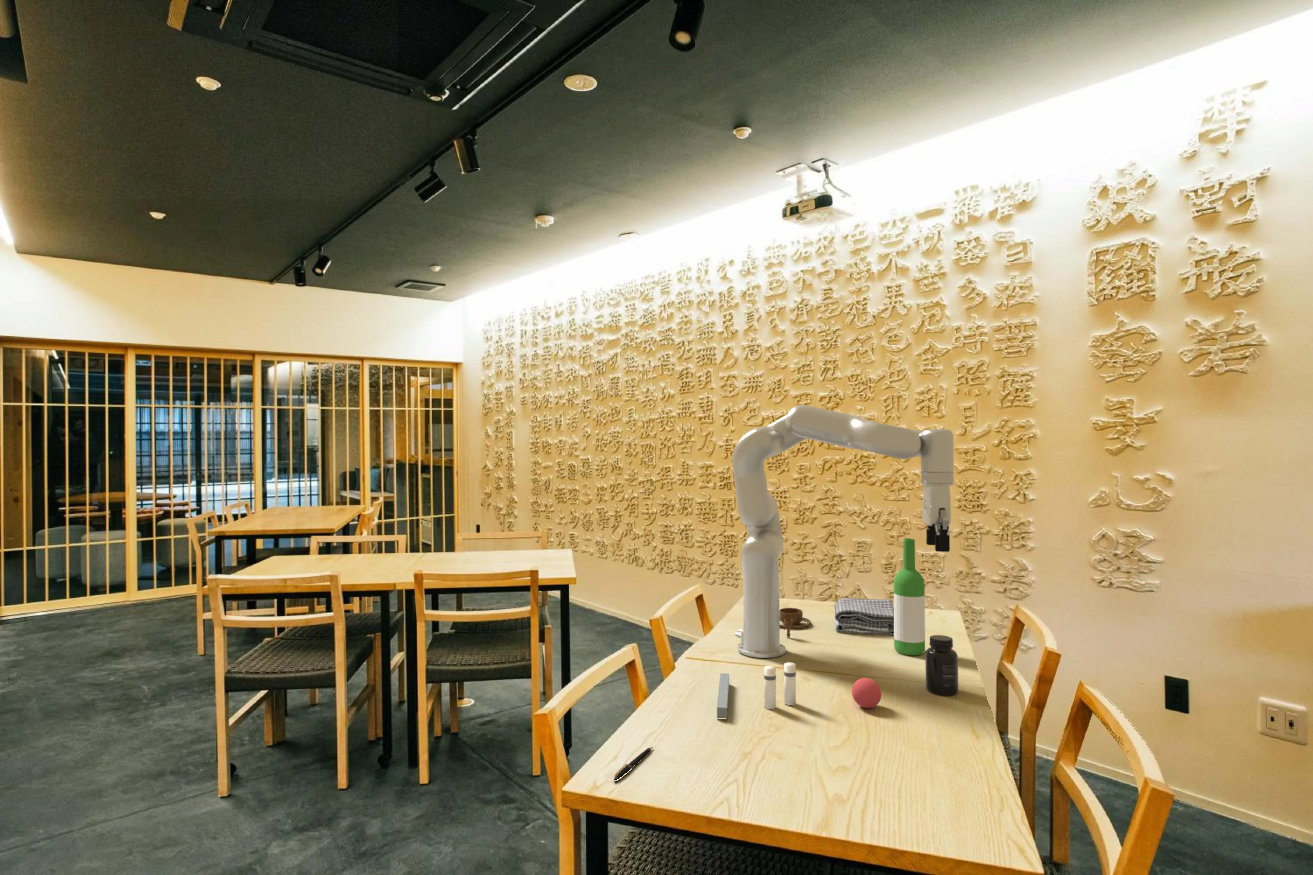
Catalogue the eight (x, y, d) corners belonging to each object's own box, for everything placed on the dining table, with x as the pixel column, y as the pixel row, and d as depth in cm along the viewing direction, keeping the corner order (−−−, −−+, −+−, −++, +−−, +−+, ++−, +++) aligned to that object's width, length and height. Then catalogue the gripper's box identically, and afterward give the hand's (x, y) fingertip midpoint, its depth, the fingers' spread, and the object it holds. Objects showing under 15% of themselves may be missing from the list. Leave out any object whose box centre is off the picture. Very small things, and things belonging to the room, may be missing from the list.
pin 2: (781, 703, 148) (781, 663, 148) (789, 700, 149) (789, 661, 149) (790, 706, 146) (790, 667, 146) (798, 703, 147) (798, 664, 147)
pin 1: (761, 706, 146) (761, 667, 146) (769, 703, 148) (769, 664, 147) (770, 710, 144) (770, 670, 144) (778, 707, 146) (778, 667, 145)
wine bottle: (912, 658, 177) (911, 542, 176) (887, 650, 183) (887, 538, 183) (931, 653, 181) (931, 539, 180) (906, 645, 187) (906, 535, 187)
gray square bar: (720, 683, 160) (720, 673, 160) (729, 684, 159) (729, 673, 159) (717, 719, 140) (716, 707, 140) (726, 719, 139) (726, 707, 139)
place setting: (827, 627, 207) (827, 608, 207) (791, 642, 193) (791, 621, 193) (777, 617, 219) (777, 599, 219) (741, 630, 205) (740, 611, 205)
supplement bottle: (958, 687, 156) (958, 635, 156) (958, 698, 150) (957, 643, 150) (926, 683, 159) (926, 631, 159) (924, 693, 153) (924, 639, 153)
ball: (846, 705, 146) (845, 677, 146) (863, 699, 150) (863, 671, 150) (870, 715, 141) (870, 686, 141) (887, 707, 145) (887, 679, 145)
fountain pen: (650, 748, 128) (650, 740, 128) (656, 750, 127) (656, 742, 127) (610, 784, 115) (610, 775, 115) (616, 785, 114) (616, 776, 114)
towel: (833, 620, 214) (833, 595, 214) (895, 623, 210) (895, 598, 210) (834, 634, 199) (834, 607, 199) (901, 638, 195) (901, 610, 195)
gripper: (914, 476, 179) (914, 542, 179) (928, 481, 162) (929, 553, 162) (944, 476, 177) (945, 542, 177) (962, 481, 160) (963, 554, 160)
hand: (937, 548), depth 170 cm, fingers open, 9 cm apart
